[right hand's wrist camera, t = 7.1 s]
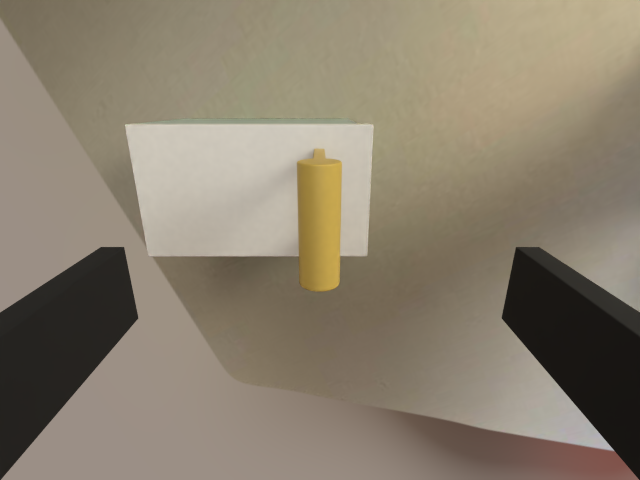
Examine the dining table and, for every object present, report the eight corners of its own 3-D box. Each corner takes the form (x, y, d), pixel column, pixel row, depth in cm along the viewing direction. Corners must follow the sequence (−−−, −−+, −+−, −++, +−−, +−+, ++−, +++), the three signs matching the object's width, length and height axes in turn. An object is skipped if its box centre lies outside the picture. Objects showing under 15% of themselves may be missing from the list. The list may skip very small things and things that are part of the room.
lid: (371, 123, 24) (398, 133, 16) (365, 250, 28) (385, 314, 19) (133, 123, 24) (34, 133, 16) (155, 250, 28) (82, 315, 19)
